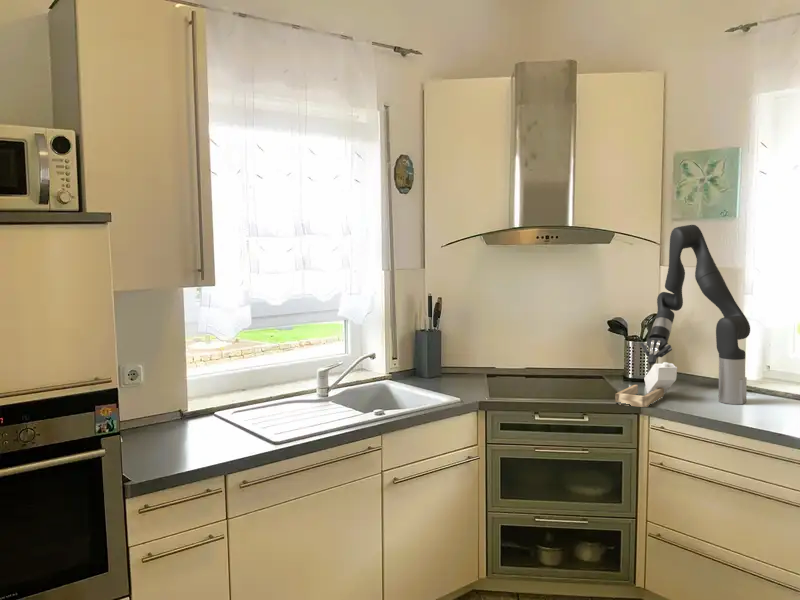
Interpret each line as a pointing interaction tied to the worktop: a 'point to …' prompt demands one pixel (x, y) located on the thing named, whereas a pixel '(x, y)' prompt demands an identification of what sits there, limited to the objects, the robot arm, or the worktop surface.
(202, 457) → the worktop surface
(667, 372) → the milk carton
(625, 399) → the U-rest
